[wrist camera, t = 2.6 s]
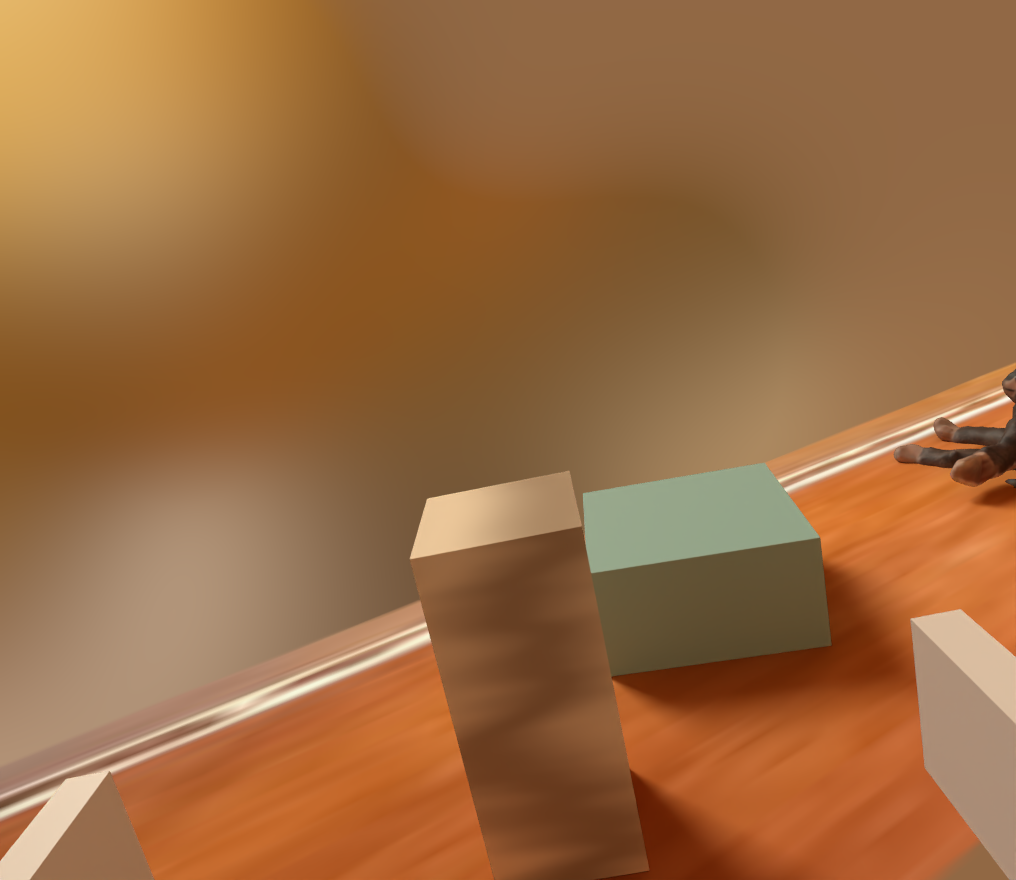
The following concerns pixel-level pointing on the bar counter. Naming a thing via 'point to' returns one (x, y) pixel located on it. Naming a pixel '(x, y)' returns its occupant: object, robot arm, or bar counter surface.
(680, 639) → the green square block
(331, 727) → the bar counter surface
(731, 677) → the bar counter surface
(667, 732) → the bar counter surface
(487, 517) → the block
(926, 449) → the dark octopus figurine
